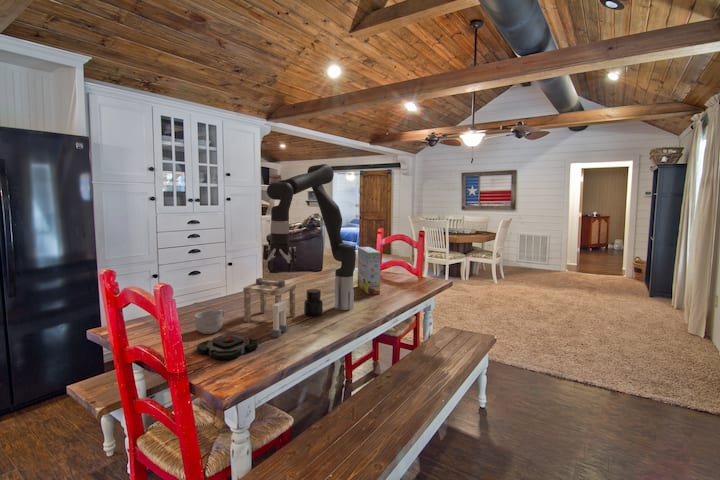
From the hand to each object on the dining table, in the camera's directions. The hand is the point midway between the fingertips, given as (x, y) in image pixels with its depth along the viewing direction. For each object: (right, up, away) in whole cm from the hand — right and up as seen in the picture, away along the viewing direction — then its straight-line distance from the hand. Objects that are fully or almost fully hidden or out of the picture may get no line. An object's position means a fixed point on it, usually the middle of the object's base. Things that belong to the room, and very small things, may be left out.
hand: (279, 271), depth 157 cm
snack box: (+38, -19, +79) cm, 89 cm away
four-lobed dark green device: (-16, -29, -14) cm, 36 cm away
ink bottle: (+10, -24, +29) cm, 39 cm away
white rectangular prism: (-1, -27, +3) cm, 27 cm away
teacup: (-30, -26, +5) cm, 40 cm away
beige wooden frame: (-9, -24, +21) cm, 33 cm away
